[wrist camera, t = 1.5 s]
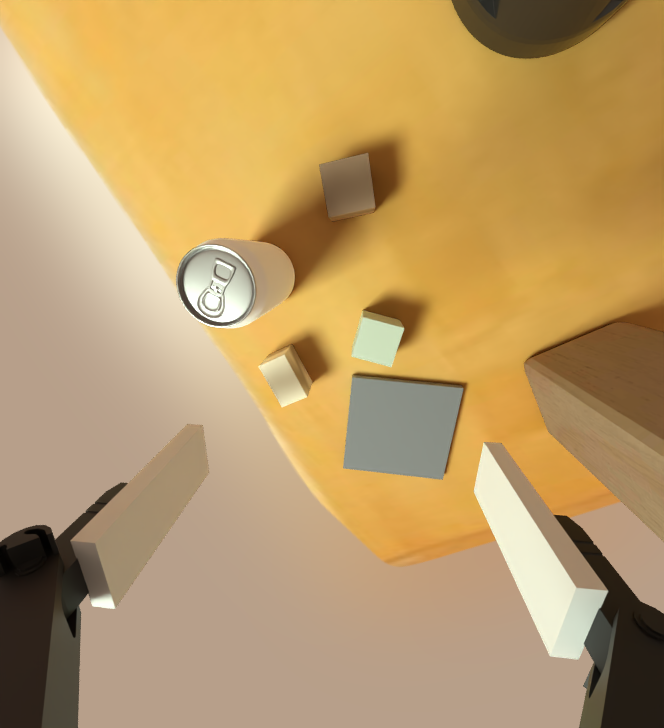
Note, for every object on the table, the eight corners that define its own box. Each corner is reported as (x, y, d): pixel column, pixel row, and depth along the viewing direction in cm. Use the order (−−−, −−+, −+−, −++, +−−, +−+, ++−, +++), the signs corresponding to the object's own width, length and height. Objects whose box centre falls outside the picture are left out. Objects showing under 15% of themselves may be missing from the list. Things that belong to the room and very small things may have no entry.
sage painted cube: (362, 309, 34) (362, 317, 30) (399, 319, 34) (404, 328, 30) (352, 345, 35) (351, 356, 31) (388, 354, 35) (391, 367, 31)
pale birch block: (269, 354, 36) (258, 366, 32) (292, 343, 35) (284, 354, 32) (290, 391, 37) (281, 407, 34) (312, 382, 37) (307, 396, 33)
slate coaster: (352, 374, 36) (352, 377, 35) (461, 385, 35) (463, 388, 34) (343, 464, 40) (343, 468, 39) (441, 475, 39) (442, 479, 38)
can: (225, 289, 34) (158, 307, 23) (247, 230, 32) (185, 218, 20) (281, 317, 34) (242, 349, 23) (306, 260, 32) (277, 265, 21)
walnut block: (324, 175, 30) (319, 164, 26) (367, 165, 29) (368, 152, 25) (332, 221, 31) (328, 217, 27) (373, 212, 30) (375, 207, 27)
